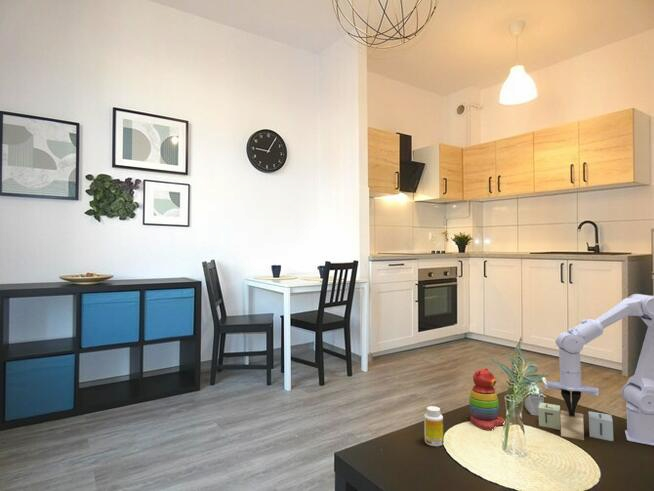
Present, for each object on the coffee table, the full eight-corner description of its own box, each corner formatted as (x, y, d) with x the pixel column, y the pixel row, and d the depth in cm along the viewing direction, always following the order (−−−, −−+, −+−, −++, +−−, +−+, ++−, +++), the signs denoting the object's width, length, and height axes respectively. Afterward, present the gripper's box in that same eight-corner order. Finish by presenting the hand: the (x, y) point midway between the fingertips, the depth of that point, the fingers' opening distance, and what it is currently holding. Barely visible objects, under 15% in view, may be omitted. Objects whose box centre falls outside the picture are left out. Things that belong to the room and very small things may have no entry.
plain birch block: (583, 433, 124) (583, 414, 124) (584, 440, 119) (583, 420, 119) (561, 429, 127) (561, 410, 127) (561, 436, 122) (560, 416, 122)
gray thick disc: (544, 416, 138) (543, 391, 138) (531, 415, 139) (530, 390, 139) (537, 408, 146) (536, 384, 146) (524, 407, 146) (523, 384, 147)
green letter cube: (560, 423, 132) (560, 405, 132) (559, 430, 126) (559, 411, 127) (540, 420, 135) (539, 402, 135) (538, 426, 130) (538, 407, 130)
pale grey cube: (612, 434, 123) (611, 414, 124) (613, 441, 118) (612, 421, 118) (589, 430, 126) (588, 410, 127) (589, 437, 121) (588, 417, 122)
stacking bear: (489, 432, 125) (487, 375, 126) (462, 421, 134) (461, 368, 135) (508, 424, 131) (506, 370, 132) (482, 414, 140) (480, 364, 141)
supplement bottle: (446, 447, 115) (445, 411, 116) (427, 447, 115) (427, 412, 115) (440, 438, 121) (439, 404, 121) (422, 439, 120) (421, 405, 121)
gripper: (543, 370, 125) (544, 414, 124) (598, 377, 117) (600, 424, 116) (544, 366, 131) (546, 407, 130) (597, 372, 123) (599, 416, 122)
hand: (571, 414), depth 123 cm, fingers closed
